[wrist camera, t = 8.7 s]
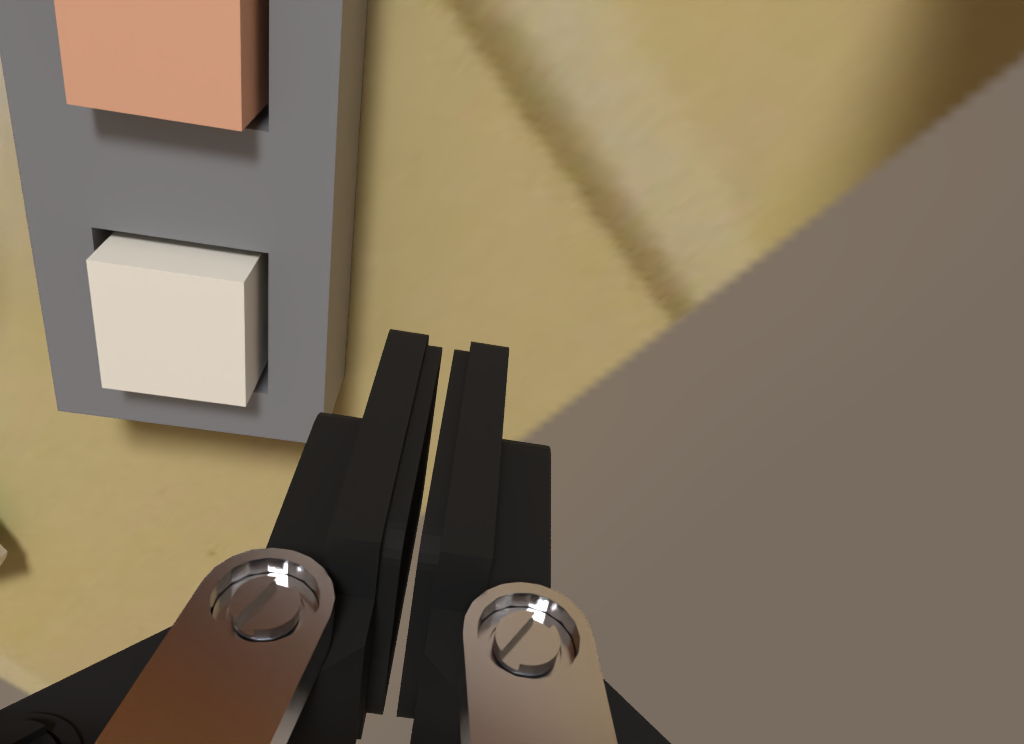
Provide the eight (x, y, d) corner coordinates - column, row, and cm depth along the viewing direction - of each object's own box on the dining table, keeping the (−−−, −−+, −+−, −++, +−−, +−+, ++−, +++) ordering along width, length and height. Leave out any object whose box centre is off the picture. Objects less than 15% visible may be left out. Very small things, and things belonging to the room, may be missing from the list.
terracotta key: (284, -75, 32) (239, -56, 27) (282, 87, 35) (241, 131, 30) (120, -104, 31) (42, -90, 26) (133, 63, 35) (67, 103, 29)
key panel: (377, -155, 32) (349, -151, 27) (344, 375, 45) (321, 444, 40) (47, -215, 31) (-45, -223, 26) (111, 343, 44) (57, 410, 39)
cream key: (280, 222, 38) (243, 282, 33) (279, 335, 41) (245, 406, 36) (144, 201, 38) (86, 259, 33) (154, 318, 41) (102, 387, 36)
